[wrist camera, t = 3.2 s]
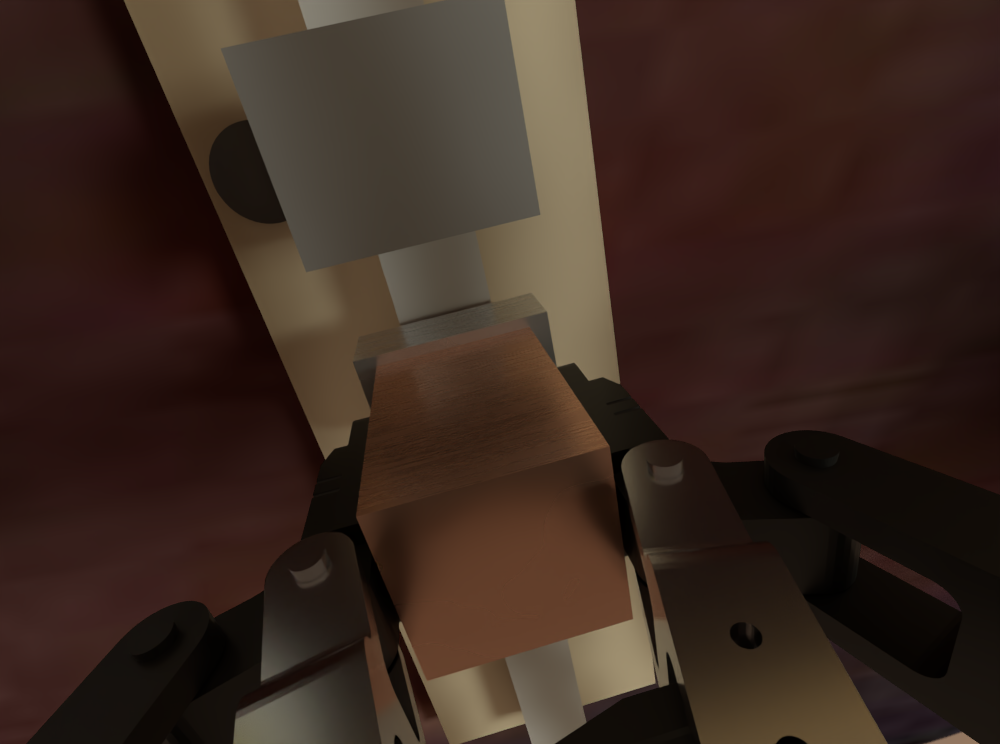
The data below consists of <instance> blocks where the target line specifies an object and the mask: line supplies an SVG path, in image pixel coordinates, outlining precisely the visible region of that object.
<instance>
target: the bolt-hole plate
mask: <svg viewBox="0 0 1000 744" xmlns="http://www.w3.org/2000/svg"><path fill="white" fill-rule="evenodd" d="M124 2H125V4H126V6H127V9H128V11H129V13H130V15H131V18H132V20H133V22H134V25H135V27H136V29H137V31H138V34H139V36H140V38H141V41H142V43H143V45H144V47H145V50H146V52H147V54H148V57H149V59H150V61H151V63H152V66H153V68H154V70H155V72H156V75H157V77H158V79H159V82H160V84H161V86H162V88H163V91H164V93H165V95H166V98H167V100H168V102H169V104H170V107H171V109H172V111H173V114H174V116H175V118H176V120H177V123H178V125H179V127H180V129H181V132H182V134H183V136H184V139H185V141H186V143H187V145H188V148H189V150H190V152H191V155H192V157H193V159H194V161H195V164H196V166H197V168H198V171H199V173H200V175H201V177H202V180H203V182H204V184H205V186H206V189H207V191H208V193H209V196H210V198H211V200H212V202H213V205H214V207H215V209H216V212H217V214H218V216H219V218H220V221H221V223H222V225H223V228H224V230H225V232H226V234H227V237H228V239H229V241H230V244H231V246H232V248H233V250H234V253H235V255H236V257H237V259H238V262H239V264H240V266H241V269H242V271H243V273H244V275H245V278H246V280H247V282H248V285H249V287H250V289H251V291H252V294H253V296H254V298H255V301H256V303H257V305H258V307H259V310H260V312H261V314H262V316H263V319H264V321H265V323H266V326H267V328H268V330H269V332H270V335H271V337H272V339H273V342H274V344H275V346H276V348H277V351H278V353H279V355H280V358H281V360H282V362H283V364H284V367H285V369H286V371H287V373H288V376H289V378H290V380H291V383H292V385H293V387H294V389H295V392H296V394H297V396H298V399H299V401H300V403H301V405H302V408H303V410H304V412H305V415H306V417H307V419H308V421H309V424H310V426H311V428H312V431H313V433H314V435H315V437H316V440H317V442H318V444H319V446H320V449H321V451H322V453H323V456H324V458H325V460H326V458H327V457H328V456H329V455H330V453H331V452H332V451H333V450H334V449H336V448H339V447H343V446H347V445H348V443H349V437H350V432H351V427H352V423H353V421H355V420H359V419H362V418H366V417H370V411H371V410H370V407H369V404H368V402H367V399H366V396H365V394H364V391H363V388H362V385H361V383H360V380H359V377H358V375H357V372H356V369H355V367H354V364H353V359H354V355H355V351H356V347H357V343H358V339H359V337H360V336H364V335H367V334H371V333H375V332H379V331H383V330H387V329H391V328H395V327H399V326H403V325H407V324H411V323H414V322H418V321H422V320H426V319H430V318H434V317H438V316H442V315H446V314H450V313H454V312H458V311H462V310H465V309H469V308H473V307H477V306H481V305H485V304H489V303H493V302H497V301H501V300H505V299H509V298H512V297H516V296H520V295H524V294H528V293H532V294H533V295H534V297H535V298H536V299H537V300H538V301H539V303H540V304H541V305H542V306H543V307H544V309H545V310H546V311H547V314H548V320H549V325H550V331H551V337H552V342H553V348H554V354H555V359H556V365H557V367H559V366H563V365H567V364H571V363H575V364H576V365H577V366H578V368H579V369H580V370H581V371H582V373H583V374H584V375H585V377H586V378H587V379H588V381H590V380H594V379H597V378H601V377H604V378H606V379H608V380H611V381H613V382H615V383H618V384H620V379H619V370H618V362H617V353H616V345H615V336H614V328H613V319H612V311H611V302H610V294H609V285H608V277H607V268H606V260H605V252H604V243H603V235H602V226H601V218H600V209H599V201H598V192H597V184H596V175H595V167H594V158H593V150H592V141H591V133H590V124H589V116H588V107H587V99H586V90H585V82H584V73H583V65H582V56H581V48H580V39H579V31H578V22H577V14H576V5H575V0H124ZM625 562H626V569H627V577H628V584H629V592H630V599H631V606H632V614H633V619H632V620H629V621H625V622H622V623H619V624H615V625H612V626H609V627H605V628H602V629H599V630H595V631H592V632H589V633H585V634H582V635H579V636H575V637H572V638H569V639H565V640H562V641H559V642H556V643H552V644H549V645H546V646H542V647H539V648H536V649H532V650H529V651H526V652H522V653H519V654H516V655H512V656H509V657H506V658H502V659H499V660H496V661H492V662H489V663H486V664H482V665H479V666H476V667H472V668H469V669H466V670H462V671H459V672H456V673H452V674H449V675H446V676H442V677H439V678H436V679H432V680H429V681H427V680H426V678H425V675H424V673H423V671H422V668H421V666H420V664H419V661H418V659H417V657H416V655H415V652H414V650H413V648H412V645H411V643H410V641H409V638H408V636H407V634H406V631H405V629H404V627H403V624H402V622H399V629H400V631H401V633H402V636H403V638H404V640H405V643H406V645H407V647H408V649H409V652H410V654H411V656H412V659H413V661H414V663H415V665H416V668H417V670H418V672H419V675H420V677H421V679H422V681H423V684H424V686H425V688H426V690H427V693H428V695H429V697H430V700H431V702H432V704H433V706H434V709H435V711H436V713H437V716H438V718H439V720H440V722H441V725H442V727H443V729H444V732H445V734H446V736H447V738H448V741H449V743H450V744H460V743H463V742H467V741H470V740H473V739H476V738H480V737H483V736H486V735H489V734H493V733H496V732H499V731H502V730H505V729H509V728H512V727H515V726H518V725H522V724H525V723H526V726H527V730H528V733H529V736H530V739H531V742H532V744H555V743H557V742H558V741H560V740H561V739H563V738H564V737H566V736H567V735H569V734H570V733H572V732H573V731H575V730H576V729H578V728H579V727H581V726H582V725H584V724H585V723H586V720H585V715H584V711H583V705H586V704H589V703H593V702H596V701H599V700H602V699H606V698H609V697H612V696H615V695H618V694H622V693H625V692H628V691H631V690H635V689H638V688H641V687H644V686H647V685H651V684H654V683H655V676H654V667H653V659H652V652H651V648H650V643H649V639H648V634H647V630H646V626H645V621H644V617H643V613H642V608H641V604H640V599H639V595H638V591H637V585H636V577H635V569H634V566H633V565H632V563H631V561H630V559H629V557H628V556H626V557H625Z"/></svg>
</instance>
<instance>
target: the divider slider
mask: <svg viewBox="0 0 1000 744" xmlns="http://www.w3.org/2000/svg"><path fill="white" fill-rule="evenodd" d="M353 364H354V367H355V369H356V372H357V375H358V377H359V380H360V383H361V385H362V388H363V391H364V394H365V396H366V399H367V402H368V404H369V407H370V410H371V411H370V418H369V426H368V433H367V440H366V447H365V455H364V462H363V469H362V477H361V484H360V491H359V499H358V506H357V513H356V518H357V520H358V523H359V525H360V527H361V530H362V532H363V534H364V536H365V539H366V541H367V543H368V546H369V548H370V550H371V553H372V555H373V557H374V560H375V562H376V564H377V567H378V569H379V571H380V574H381V576H382V578H383V580H384V583H385V585H386V587H387V590H388V592H389V594H390V597H391V599H392V601H393V604H394V606H395V608H396V611H397V613H398V615H399V617H400V620H401V622H402V624H403V627H404V629H405V631H406V634H407V636H408V638H409V641H410V643H411V645H412V648H413V650H414V652H415V655H416V657H417V659H418V661H419V664H420V666H421V668H422V671H423V673H424V675H425V678H426V680H427V681H429V680H432V679H436V678H439V677H442V676H446V675H449V674H452V673H456V672H459V671H462V670H466V669H469V668H472V667H476V666H479V665H482V664H486V663H489V662H492V661H496V660H499V659H502V658H506V657H509V656H512V655H516V654H519V653H522V652H526V651H529V650H532V649H536V648H539V647H542V646H546V645H549V644H552V643H556V642H559V641H562V640H565V639H569V638H572V637H575V636H579V635H582V634H585V633H589V632H592V631H595V630H599V629H602V628H605V627H609V626H612V625H615V624H619V623H622V622H625V621H629V620H632V619H633V614H632V606H631V599H630V592H629V584H628V577H627V569H626V562H625V555H624V547H623V540H622V533H621V525H620V518H619V511H618V503H617V496H616V489H615V481H614V474H613V467H612V459H611V452H610V446H609V445H608V443H607V442H606V440H605V439H604V437H603V436H602V434H601V433H600V431H599V430H598V428H597V427H596V425H595V424H594V422H593V421H592V419H591V418H590V416H589V415H588V413H587V412H586V410H585V409H584V407H583V406H582V404H581V403H580V401H579V400H578V398H577V397H576V395H575V394H574V392H573V391H572V389H571V388H570V386H569V385H568V383H567V382H566V380H565V379H564V377H563V376H562V374H561V373H560V372H559V370H558V369H557V365H556V359H555V354H554V348H553V342H552V337H551V331H550V325H549V320H548V314H547V311H546V310H545V309H544V307H543V306H542V305H541V304H540V303H539V301H538V300H537V299H536V298H535V297H534V295H533V294H532V293H528V294H524V295H520V296H516V297H512V298H509V299H505V300H501V301H497V302H493V303H489V304H485V305H481V306H477V307H473V308H469V309H465V310H462V311H458V312H454V313H450V314H446V315H442V316H438V317H434V318H430V319H426V320H422V321H418V322H414V323H411V324H407V325H403V326H399V327H395V328H391V329H387V330H383V331H379V332H375V333H371V334H367V335H364V336H360V337H359V339H358V343H357V347H356V351H355V355H354V359H353Z"/></svg>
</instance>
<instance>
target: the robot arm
mask: <svg viewBox="0 0 1000 744" xmlns="http://www.w3.org/2000/svg"><path fill="white" fill-rule="evenodd" d="M557 369H558V370H559V372H560V373H561V374H562V376H563V377H564V379H565V380H566V382H567V383H568V385H569V386H570V388H571V389H572V391H573V392H574V394H575V395H576V397H577V398H578V400H579V401H580V403H581V404H582V406H583V407H584V409H585V410H586V412H587V413H588V415H589V416H590V418H591V419H592V421H593V422H594V424H595V425H596V427H597V428H598V430H599V431H600V433H601V434H602V436H603V437H604V439H605V440H606V442H607V443H608V445H609V446H610V452H611V459H612V467H613V474H614V481H615V489H616V496H617V503H618V511H619V518H620V525H621V533H622V540H623V547H624V555H625V557H626V556H628V557H629V559H630V561H631V563H632V565H633V566H634V569H635V577H636V585H637V591H638V595H639V599H640V604H641V608H642V613H643V617H644V621H645V626H646V630H647V634H648V639H649V643H650V648H651V652H652V656H653V661H654V665H655V670H656V674H657V678H658V683H659V688H656V689H653V690H649V691H646V692H643V693H640V694H637V695H633V696H630V697H627V698H624V699H622V700H620V701H619V702H617V703H616V704H614V705H613V706H611V707H610V708H608V709H607V710H605V711H604V712H602V713H601V714H599V715H597V716H596V717H594V718H593V719H591V720H590V721H588V722H587V723H585V724H584V725H582V726H581V727H579V728H578V729H576V730H575V731H573V732H572V733H570V734H569V735H567V736H566V737H564V738H563V739H561V740H560V741H558V742H557V743H555V744H887V742H886V740H885V738H884V737H883V735H882V733H881V731H880V730H879V728H878V726H877V724H876V723H875V721H874V719H873V717H872V716H871V714H870V712H869V710H868V709H867V707H866V705H865V703H864V702H863V700H862V698H861V696H860V695H859V693H858V691H857V689H856V688H855V686H854V684H853V682H852V681H851V679H850V677H849V675H848V674H847V672H846V670H845V668H844V667H843V665H842V663H841V661H840V660H839V658H838V656H837V654H836V653H835V651H834V649H833V647H832V646H831V644H830V642H829V640H831V641H832V642H834V643H835V644H837V645H838V646H839V647H841V648H842V649H844V650H845V651H847V652H848V653H850V654H851V655H852V656H854V657H855V658H857V659H858V660H860V661H861V662H863V663H864V664H865V665H867V666H868V667H870V668H871V669H873V670H874V671H875V672H877V673H878V674H880V675H881V676H883V677H884V678H886V679H887V680H888V681H890V682H891V683H893V684H894V685H896V686H897V687H899V688H900V689H901V690H903V691H904V692H906V693H907V694H909V695H910V696H911V697H913V698H914V699H916V700H917V701H919V702H920V703H922V704H923V705H924V706H926V707H927V708H929V709H930V710H932V711H933V712H935V713H936V714H937V715H939V716H940V717H942V718H943V719H945V720H946V721H948V722H949V723H950V724H952V725H953V726H955V727H956V728H958V729H959V730H960V731H962V732H963V733H965V734H966V735H968V736H969V737H971V738H972V739H973V740H975V741H976V742H978V743H979V744H1000V495H999V494H996V493H993V492H991V491H988V490H985V489H983V488H980V487H977V486H974V485H972V484H969V483H966V482H964V481H961V480H958V479H955V478H953V477H950V476H947V475H945V474H942V473H939V472H937V471H934V470H931V469H928V468H926V467H923V466H920V465H918V464H915V463H912V462H910V461H907V460H904V459H901V458H899V457H896V456H893V455H891V454H888V453H885V452H882V451H880V450H877V449H874V448H872V447H869V446H866V445H864V444H861V443H858V442H855V441H853V440H850V439H847V438H845V437H842V436H839V435H836V434H832V433H827V432H821V431H811V430H802V431H792V432H788V433H784V434H781V435H778V436H776V437H775V438H773V439H772V440H771V441H769V442H768V444H767V445H766V447H765V452H764V461H750V462H731V463H721V462H711V461H710V460H709V458H708V457H707V455H706V454H705V453H704V452H703V451H702V450H700V449H699V448H697V447H696V446H694V445H691V444H689V443H686V442H682V441H677V440H669V439H668V438H667V436H666V435H665V434H664V433H663V432H662V431H661V430H660V429H659V427H658V426H657V425H656V424H655V423H654V422H653V421H652V420H651V418H650V417H649V416H648V415H647V414H646V413H645V412H644V411H643V409H642V408H641V409H640V407H639V405H638V404H637V403H636V402H635V400H634V399H631V396H630V395H629V394H628V393H627V391H626V390H625V389H624V388H623V387H622V386H621V385H620V384H618V383H615V382H613V381H611V380H608V379H606V378H604V377H601V378H597V379H594V380H590V381H588V379H587V378H586V377H585V375H584V374H583V373H582V371H581V370H580V369H579V368H578V366H577V365H576V364H575V363H571V364H567V365H563V366H559V367H557ZM369 418H370V417H366V418H362V419H359V420H355V421H353V423H352V427H351V432H350V437H349V443H348V445H347V446H343V447H339V448H336V449H334V450H333V451H332V452H331V453H330V455H329V456H328V457H327V458H326V460H325V461H324V462H323V463H322V465H321V467H320V471H319V475H318V478H317V484H316V486H315V490H314V493H313V496H314V498H312V501H311V505H310V508H309V512H308V516H307V520H306V523H305V527H304V531H303V535H302V538H301V541H299V542H298V543H296V544H294V545H293V546H291V547H290V548H289V549H287V550H286V551H285V552H284V553H283V554H281V555H280V556H279V558H278V559H277V560H276V561H275V562H274V563H273V565H272V566H271V568H270V569H269V571H268V573H267V576H266V579H265V585H264V591H263V592H261V593H260V594H258V595H256V596H254V597H253V598H251V599H249V600H247V601H245V602H243V603H241V604H240V605H238V606H236V607H234V608H232V609H230V610H228V611H226V612H224V613H222V614H221V615H219V616H217V617H215V618H214V617H213V616H212V614H211V613H210V611H209V610H208V608H207V607H206V606H205V605H204V604H202V603H200V602H196V601H185V602H180V603H176V604H173V605H170V606H168V607H166V608H163V609H161V610H159V611H157V612H156V613H154V614H152V615H150V616H149V617H147V618H146V619H144V620H143V621H142V622H140V623H139V624H138V625H136V626H135V627H134V628H133V629H131V630H130V631H129V632H128V633H127V634H126V635H125V636H124V637H123V638H122V639H121V640H120V641H119V642H118V643H117V644H116V645H115V647H114V648H113V649H112V650H111V651H110V652H109V653H108V654H107V655H106V656H105V658H104V659H103V660H102V661H101V662H100V663H99V664H98V665H97V666H96V668H95V669H94V670H93V671H92V672H91V673H90V674H89V675H88V676H87V677H86V679H85V680H84V681H83V682H82V683H81V684H80V685H79V686H78V687H77V688H76V690H75V691H74V692H73V693H72V694H71V695H70V696H69V697H68V698H67V700H66V701H65V702H64V703H63V704H62V705H61V706H60V707H59V708H58V709H57V711H56V712H55V713H54V714H53V715H52V716H51V717H50V718H49V719H48V720H47V722H46V723H45V724H44V725H43V726H42V727H41V728H40V729H39V730H38V732H37V733H36V734H35V735H34V736H33V737H32V738H31V739H30V740H29V741H28V743H27V744H426V742H425V738H424V734H423V730H422V726H421V723H420V719H419V715H418V711H417V707H416V703H415V699H414V695H413V691H412V687H411V683H410V680H409V676H408V672H407V668H406V664H405V660H404V656H403V654H402V651H401V649H400V647H399V622H401V620H400V617H399V615H398V613H397V611H396V608H395V606H394V604H393V601H392V599H391V597H390V594H389V592H388V590H387V587H386V585H385V583H384V580H383V578H382V576H381V574H380V571H379V569H378V567H377V564H376V562H375V560H374V557H373V555H372V553H371V550H370V548H369V546H368V543H367V541H366V539H365V536H364V534H363V532H362V530H361V527H360V525H359V523H358V520H357V518H356V513H357V506H358V499H359V491H360V484H361V477H362V469H363V462H364V455H365V447H366V440H367V433H368V426H369ZM861 544H863V545H865V546H867V547H869V548H871V549H873V550H875V551H876V552H878V553H880V554H882V555H884V556H886V557H888V558H890V559H892V560H894V561H896V562H898V563H900V564H902V565H903V566H905V567H907V568H909V569H911V570H913V571H915V572H917V573H919V574H921V575H923V576H925V577H927V578H929V579H930V580H932V581H934V582H936V583H937V584H939V585H940V586H941V587H943V588H944V589H945V590H946V591H947V592H948V593H949V594H950V595H951V596H952V597H953V598H954V599H955V600H956V602H957V603H958V605H959V607H960V609H961V612H960V611H958V610H957V609H955V608H953V607H951V606H949V605H947V604H945V603H944V602H942V601H940V600H938V599H936V598H934V597H933V596H931V595H929V594H927V593H925V592H923V591H921V590H920V589H918V588H916V587H914V586H912V585H910V584H908V583H907V582H905V581H903V580H901V579H899V578H897V577H895V576H894V575H892V574H890V573H888V572H886V571H884V570H883V569H881V568H879V567H877V566H875V565H873V564H871V563H870V562H868V561H866V560H864V559H862V558H860V557H859V556H860V549H861ZM827 638H828V639H829V640H828V639H827Z"/></svg>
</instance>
